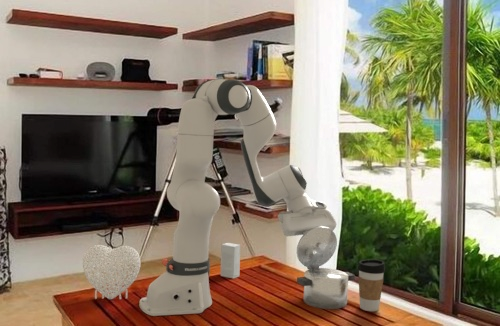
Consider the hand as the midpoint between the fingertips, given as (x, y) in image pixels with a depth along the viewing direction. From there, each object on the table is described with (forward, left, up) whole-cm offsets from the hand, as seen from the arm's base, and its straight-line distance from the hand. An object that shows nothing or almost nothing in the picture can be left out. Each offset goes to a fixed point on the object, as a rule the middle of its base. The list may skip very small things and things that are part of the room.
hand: (317, 242), depth 172 cm
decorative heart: (-65, +17, -18) cm, 69 cm away
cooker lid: (-1, -2, -1) cm, 3 cm away
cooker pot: (-1, -8, -17) cm, 19 cm away
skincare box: (-20, +27, -18) cm, 38 cm away
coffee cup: (+9, -18, -18) cm, 27 cm away
